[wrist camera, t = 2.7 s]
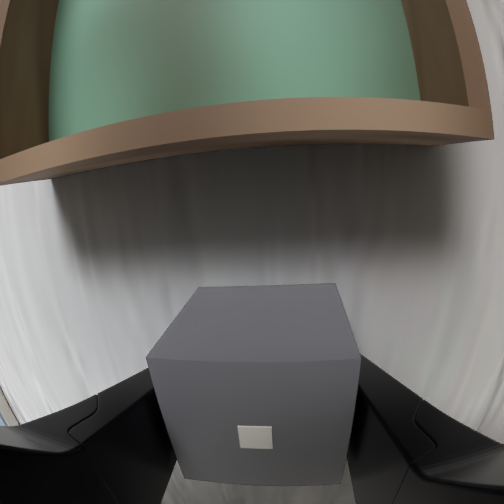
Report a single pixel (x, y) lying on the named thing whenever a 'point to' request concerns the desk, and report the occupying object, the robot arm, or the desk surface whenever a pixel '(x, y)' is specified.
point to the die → (259, 384)
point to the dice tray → (230, 78)
